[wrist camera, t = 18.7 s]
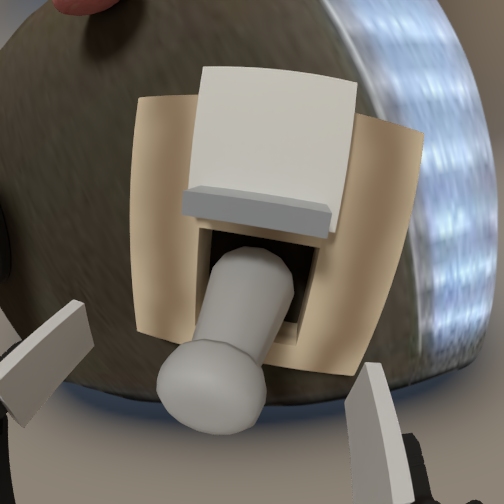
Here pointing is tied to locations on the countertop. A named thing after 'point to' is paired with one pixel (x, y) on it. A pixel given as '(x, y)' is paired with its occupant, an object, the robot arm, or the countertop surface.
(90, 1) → the apple
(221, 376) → the salt shaker
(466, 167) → the countertop surface
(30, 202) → the countertop surface
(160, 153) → the socket board
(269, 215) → the shutter
